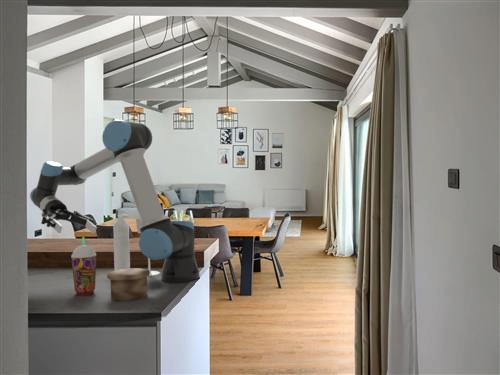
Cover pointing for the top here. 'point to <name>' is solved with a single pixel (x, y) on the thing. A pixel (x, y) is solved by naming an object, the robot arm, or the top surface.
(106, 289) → the top surface
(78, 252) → the smoothie
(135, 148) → the robot arm
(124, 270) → the tan muffin-shaped cylinder
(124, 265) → the water bottle
